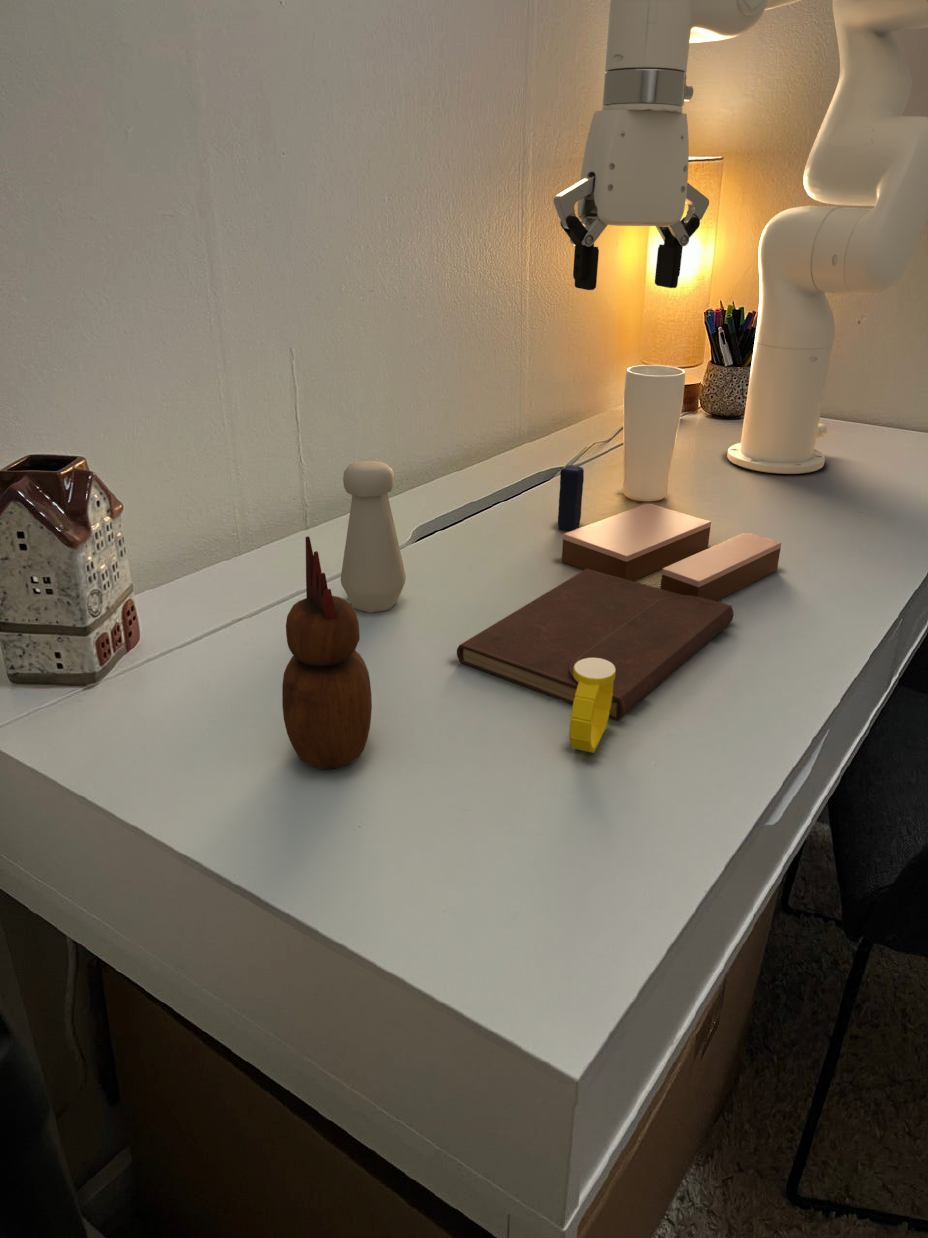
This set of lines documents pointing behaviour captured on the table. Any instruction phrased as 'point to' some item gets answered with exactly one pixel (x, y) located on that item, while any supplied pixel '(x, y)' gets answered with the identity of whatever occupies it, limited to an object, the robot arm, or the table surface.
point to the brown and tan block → (636, 542)
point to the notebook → (598, 637)
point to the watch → (591, 702)
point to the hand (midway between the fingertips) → (625, 287)
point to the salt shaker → (371, 540)
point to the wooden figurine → (325, 676)
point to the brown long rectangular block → (723, 567)
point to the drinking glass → (650, 428)
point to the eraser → (570, 497)
